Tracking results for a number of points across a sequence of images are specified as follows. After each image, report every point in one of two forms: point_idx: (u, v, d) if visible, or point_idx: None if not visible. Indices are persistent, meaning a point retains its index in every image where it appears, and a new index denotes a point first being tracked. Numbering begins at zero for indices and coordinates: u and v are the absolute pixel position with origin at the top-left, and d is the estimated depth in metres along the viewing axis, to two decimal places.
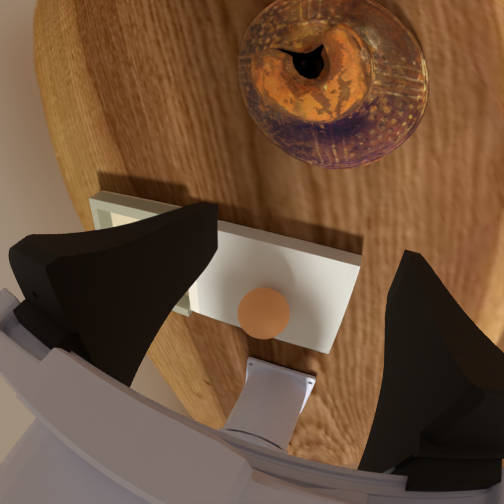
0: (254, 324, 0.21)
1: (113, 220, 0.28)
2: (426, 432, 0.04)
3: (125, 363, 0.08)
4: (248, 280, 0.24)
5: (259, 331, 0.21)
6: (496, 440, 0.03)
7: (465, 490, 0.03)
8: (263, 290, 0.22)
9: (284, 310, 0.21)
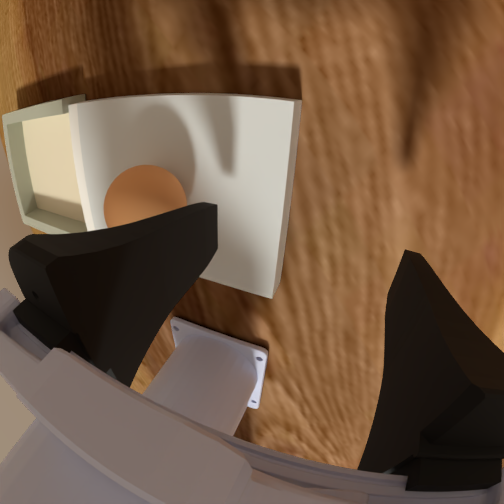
0: (114, 212, 0.11)
1: (25, 140, 0.19)
2: (426, 432, 0.04)
3: (125, 363, 0.08)
4: None
5: None
6: (496, 440, 0.03)
7: (465, 490, 0.03)
8: (141, 165, 0.12)
9: (167, 190, 0.12)
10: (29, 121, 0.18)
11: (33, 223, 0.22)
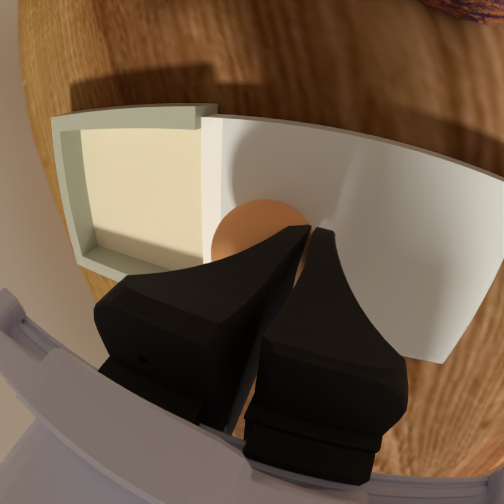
0: None
1: (85, 156, 0.16)
2: (257, 394, 0.05)
3: (235, 414, 0.07)
4: None
5: None
6: (352, 425, 0.04)
7: (324, 479, 0.04)
8: (293, 213, 0.10)
9: (232, 228, 0.10)
10: (95, 130, 0.15)
11: (97, 268, 0.19)
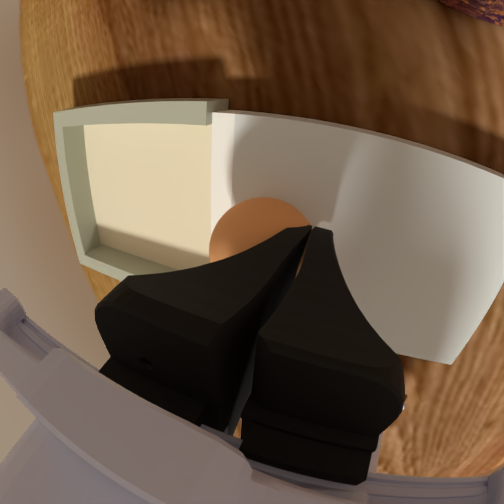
0: None
1: (88, 152, 0.16)
2: (254, 393, 0.05)
3: (236, 414, 0.07)
4: (344, 230, 0.11)
5: None
6: (348, 424, 0.04)
7: (321, 479, 0.04)
8: (289, 215, 0.10)
9: (225, 223, 0.10)
10: (99, 125, 0.15)
11: (100, 267, 0.18)
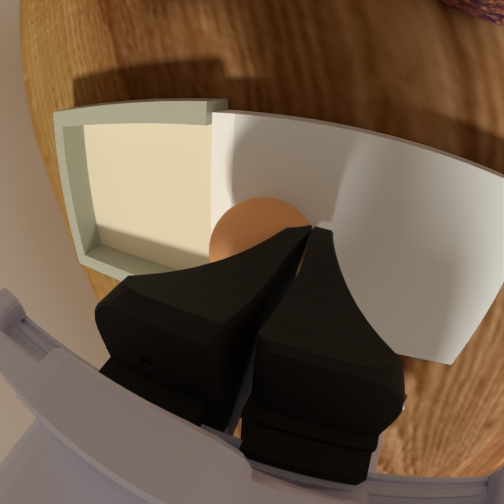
0: None
1: (88, 152, 0.16)
2: (254, 392, 0.05)
3: (236, 414, 0.07)
4: (344, 230, 0.11)
5: None
6: (348, 424, 0.04)
7: (321, 479, 0.04)
8: (289, 215, 0.10)
9: (225, 223, 0.10)
10: (99, 125, 0.15)
11: (100, 267, 0.18)
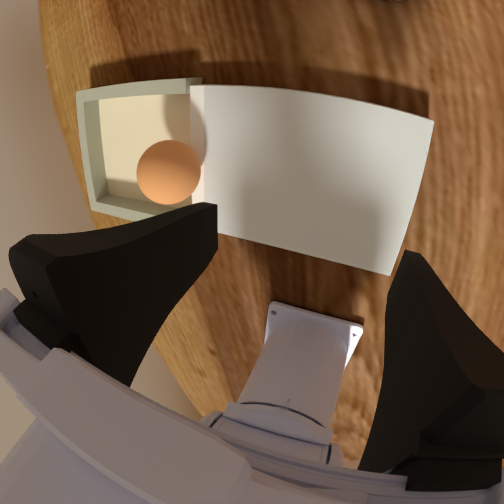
0: (191, 150, 0.17)
1: (102, 121, 0.21)
2: (426, 432, 0.04)
3: (125, 363, 0.08)
4: (279, 157, 0.16)
5: None
6: (496, 440, 0.03)
7: (465, 490, 0.03)
8: (147, 150, 0.16)
9: None
10: (111, 100, 0.19)
11: (108, 210, 0.23)
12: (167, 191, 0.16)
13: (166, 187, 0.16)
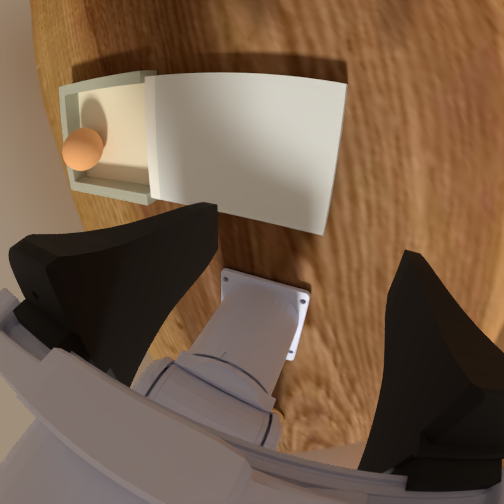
0: None
1: (80, 112, 0.23)
2: (426, 432, 0.04)
3: (125, 363, 0.08)
4: (214, 130, 0.18)
5: None
6: (496, 440, 0.03)
7: (465, 490, 0.03)
8: (89, 131, 0.21)
9: (68, 143, 0.20)
10: (88, 94, 0.21)
11: (84, 188, 0.25)
12: None
13: None
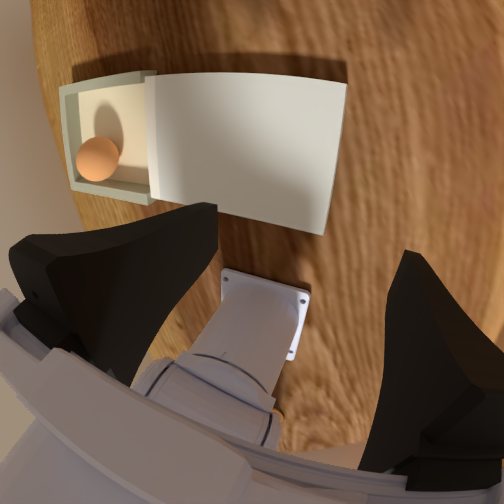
0: (78, 154, 0.21)
1: (80, 112, 0.23)
2: (426, 432, 0.04)
3: (125, 363, 0.08)
4: (214, 130, 0.18)
5: (78, 163, 0.21)
6: (496, 440, 0.03)
7: (465, 490, 0.03)
8: (104, 138, 0.21)
9: (101, 158, 0.21)
10: (88, 94, 0.21)
11: (84, 188, 0.25)
12: None
13: None
